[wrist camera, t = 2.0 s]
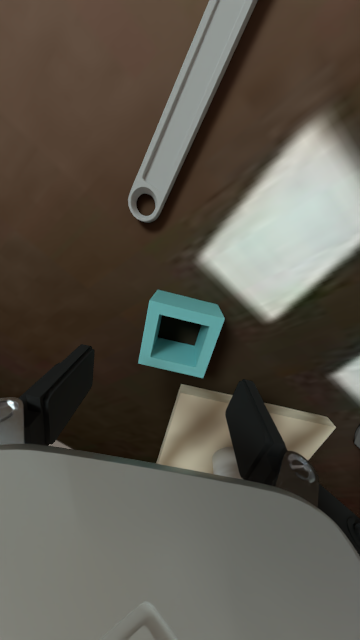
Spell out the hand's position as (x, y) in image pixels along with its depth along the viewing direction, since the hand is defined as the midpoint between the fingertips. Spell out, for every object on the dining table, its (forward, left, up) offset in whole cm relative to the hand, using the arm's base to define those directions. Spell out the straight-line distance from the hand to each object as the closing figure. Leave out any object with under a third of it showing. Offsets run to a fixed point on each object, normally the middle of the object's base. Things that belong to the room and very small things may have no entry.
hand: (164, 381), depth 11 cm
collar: (-1, 0, -9) cm, 9 cm away
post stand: (-13, +18, -9) cm, 24 cm away
